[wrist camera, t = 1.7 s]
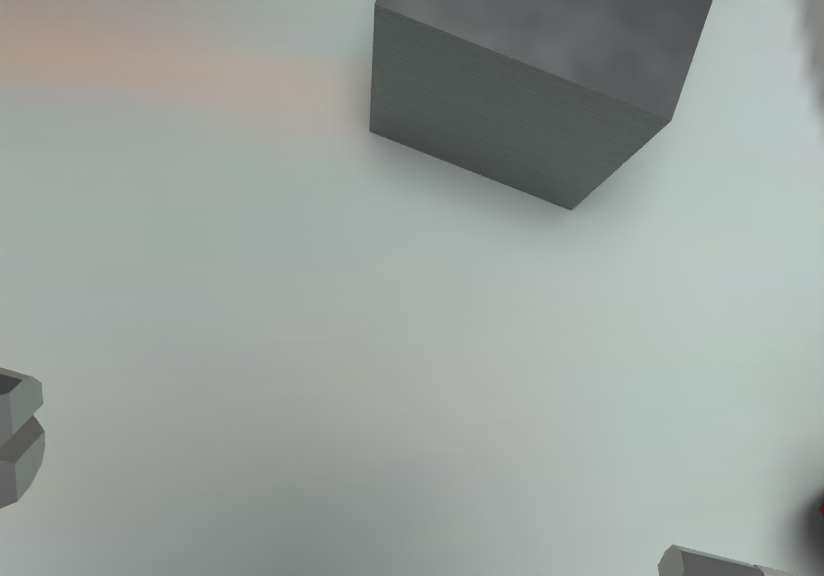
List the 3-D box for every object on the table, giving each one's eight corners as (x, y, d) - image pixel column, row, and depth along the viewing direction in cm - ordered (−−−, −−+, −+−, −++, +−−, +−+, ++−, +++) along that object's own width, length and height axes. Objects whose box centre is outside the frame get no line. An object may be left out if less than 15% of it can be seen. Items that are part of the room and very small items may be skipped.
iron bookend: (369, 131, 43) (374, 4, 29) (445, -53, 45) (483, -255, 31) (570, 210, 43) (671, 120, 29) (638, 23, 45) (761, -144, 31)
